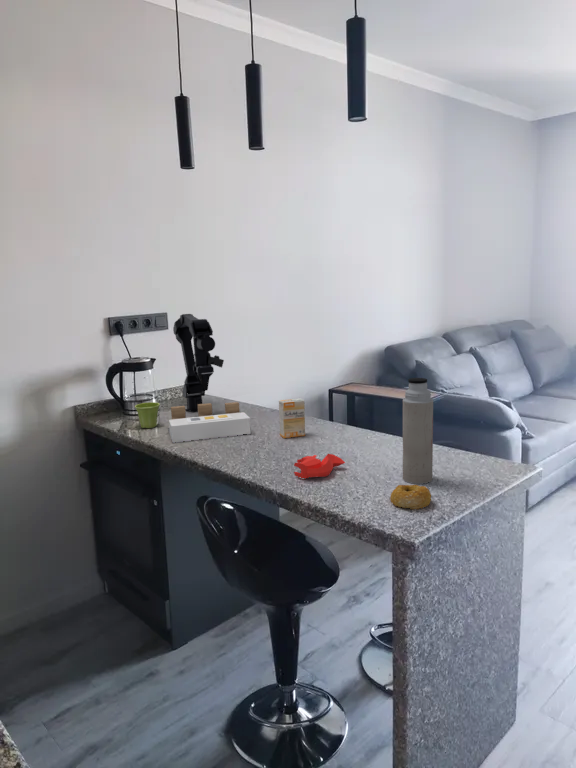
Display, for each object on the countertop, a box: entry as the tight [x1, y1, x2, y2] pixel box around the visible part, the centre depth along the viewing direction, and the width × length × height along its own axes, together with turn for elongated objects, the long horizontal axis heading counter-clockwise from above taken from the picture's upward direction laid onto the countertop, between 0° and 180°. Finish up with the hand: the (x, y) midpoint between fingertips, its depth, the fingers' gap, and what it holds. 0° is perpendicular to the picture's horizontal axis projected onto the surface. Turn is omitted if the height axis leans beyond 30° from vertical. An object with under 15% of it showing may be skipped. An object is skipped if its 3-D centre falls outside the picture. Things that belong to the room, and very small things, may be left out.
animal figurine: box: [293, 453, 346, 480], centre depth 166 cm, size 12×15×5 cm
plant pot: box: [134, 401, 161, 429], centre depth 224 cm, size 9×9×9 cm
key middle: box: [197, 402, 213, 417], centre depth 218 cm, size 2×5×8 cm, turn 107°
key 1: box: [170, 405, 187, 420], centre depth 216 cm, size 2×5×8 cm, turn 107°
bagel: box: [389, 484, 432, 510], centre depth 142 cm, size 10×11×5 cm
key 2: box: [224, 401, 240, 414], centre depth 219 cm, size 2×5×8 cm, turn 107°
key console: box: [167, 411, 252, 444], centre depth 213 cm, size 18×28×6 cm, turn 107°
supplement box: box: [278, 397, 306, 439], centre depth 203 cm, size 8×5×13 cm, turn 109°
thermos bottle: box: [402, 377, 434, 485], centre depth 155 cm, size 8×8×28 cm
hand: (204, 389), depth 233 cm, fingers open, 9 cm apart
